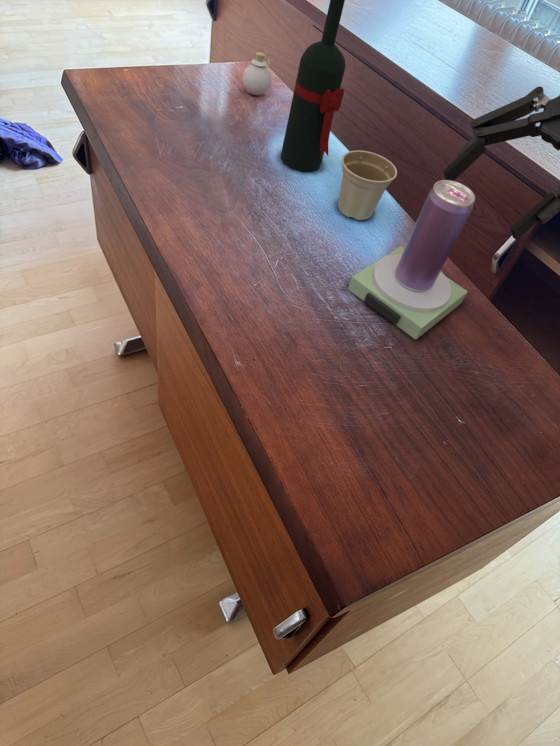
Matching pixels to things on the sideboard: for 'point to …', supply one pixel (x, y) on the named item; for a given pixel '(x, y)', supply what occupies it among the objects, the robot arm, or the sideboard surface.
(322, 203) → the sideboard surface
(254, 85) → the ornament
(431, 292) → the scale
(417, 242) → the beverage can
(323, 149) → the wine bottle
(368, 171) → the flower pot
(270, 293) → the sideboard surface
